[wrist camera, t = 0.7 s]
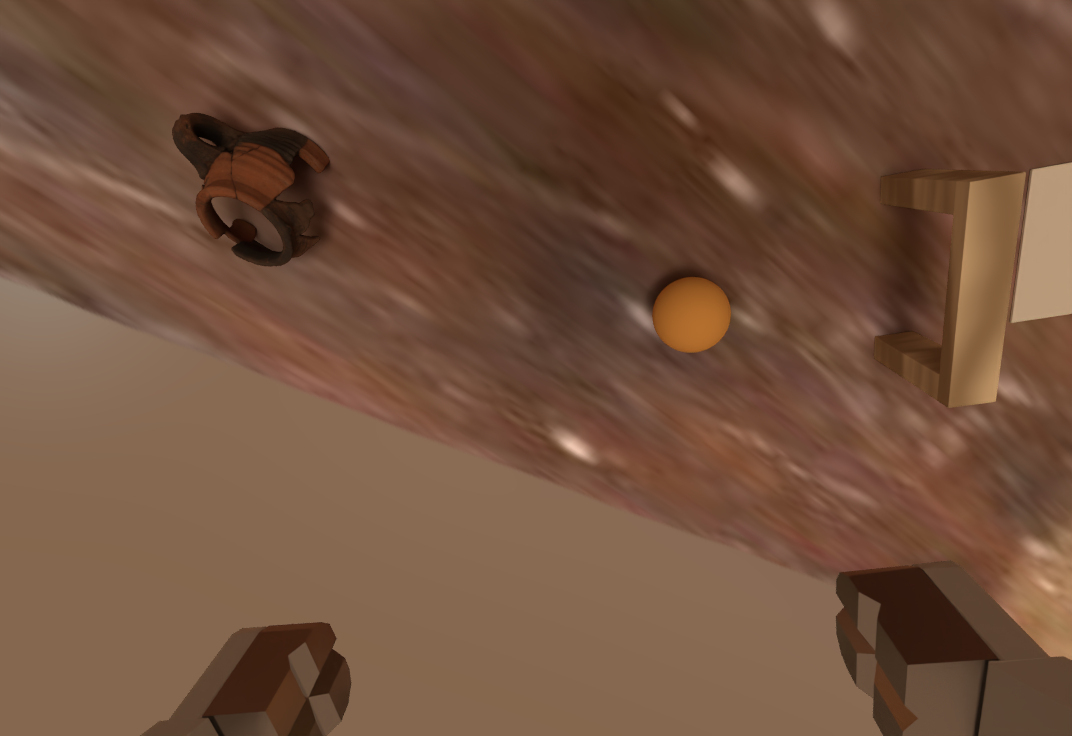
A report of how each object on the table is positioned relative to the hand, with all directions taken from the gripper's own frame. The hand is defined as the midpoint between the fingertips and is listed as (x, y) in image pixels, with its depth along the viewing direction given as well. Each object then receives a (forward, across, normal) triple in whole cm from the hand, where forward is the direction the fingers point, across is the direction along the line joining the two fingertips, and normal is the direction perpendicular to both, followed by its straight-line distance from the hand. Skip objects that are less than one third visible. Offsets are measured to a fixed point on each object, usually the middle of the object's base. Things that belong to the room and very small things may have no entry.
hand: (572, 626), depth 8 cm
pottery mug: (+38, +23, -10) cm, 46 cm away
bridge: (+38, -25, +6) cm, 46 cm away
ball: (+35, -8, +6) cm, 37 cm away
